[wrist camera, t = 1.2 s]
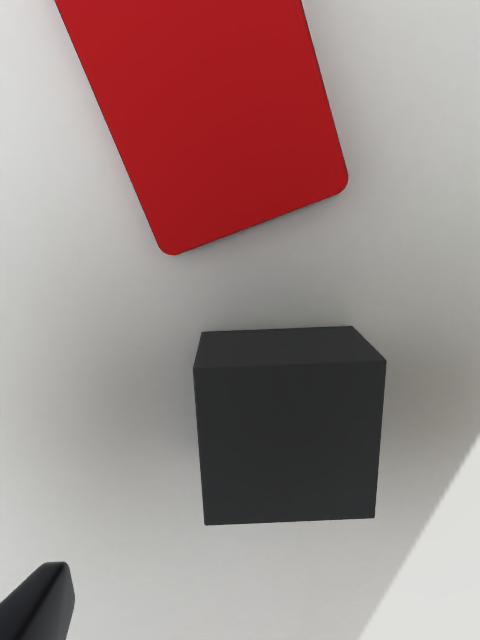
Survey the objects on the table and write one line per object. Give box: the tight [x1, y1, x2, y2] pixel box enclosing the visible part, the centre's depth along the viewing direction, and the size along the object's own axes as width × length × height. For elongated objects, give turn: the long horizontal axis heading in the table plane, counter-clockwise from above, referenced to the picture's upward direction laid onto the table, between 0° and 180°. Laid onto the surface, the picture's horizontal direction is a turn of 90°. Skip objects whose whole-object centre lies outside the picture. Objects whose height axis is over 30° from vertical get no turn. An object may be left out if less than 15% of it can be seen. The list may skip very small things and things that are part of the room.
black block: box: [193, 326, 386, 525], centre depth 12 cm, size 5×5×3 cm
